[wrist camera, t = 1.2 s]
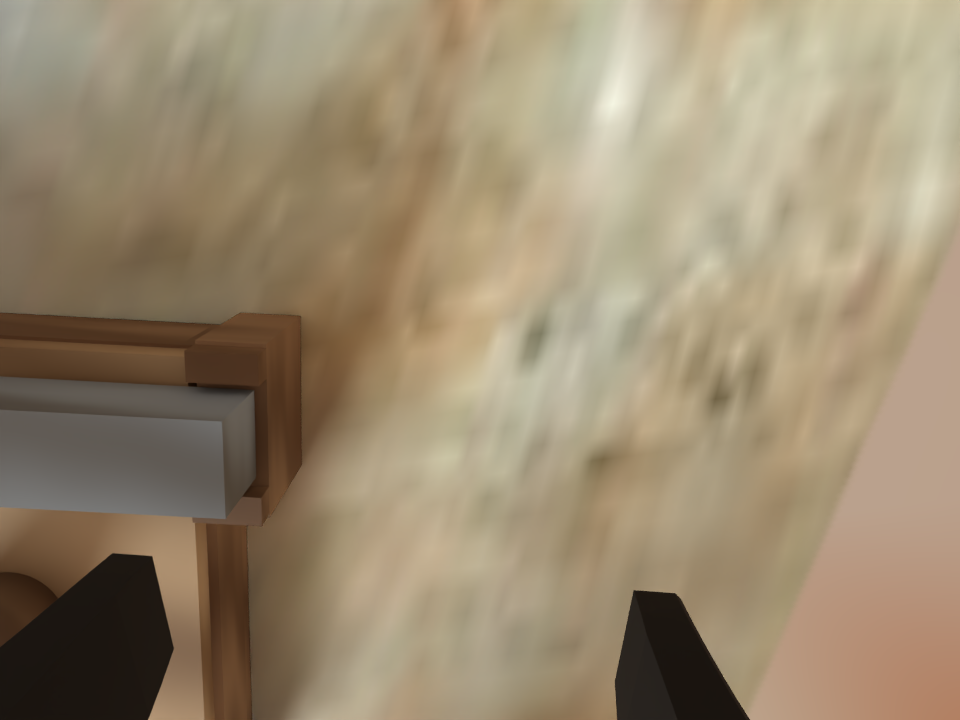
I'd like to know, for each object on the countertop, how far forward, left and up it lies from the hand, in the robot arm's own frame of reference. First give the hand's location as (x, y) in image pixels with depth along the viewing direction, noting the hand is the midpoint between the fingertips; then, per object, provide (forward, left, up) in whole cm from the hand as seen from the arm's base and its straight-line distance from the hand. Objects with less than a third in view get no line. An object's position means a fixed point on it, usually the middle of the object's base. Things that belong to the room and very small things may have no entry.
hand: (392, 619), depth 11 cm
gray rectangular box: (0, +12, -8) cm, 14 cm away
